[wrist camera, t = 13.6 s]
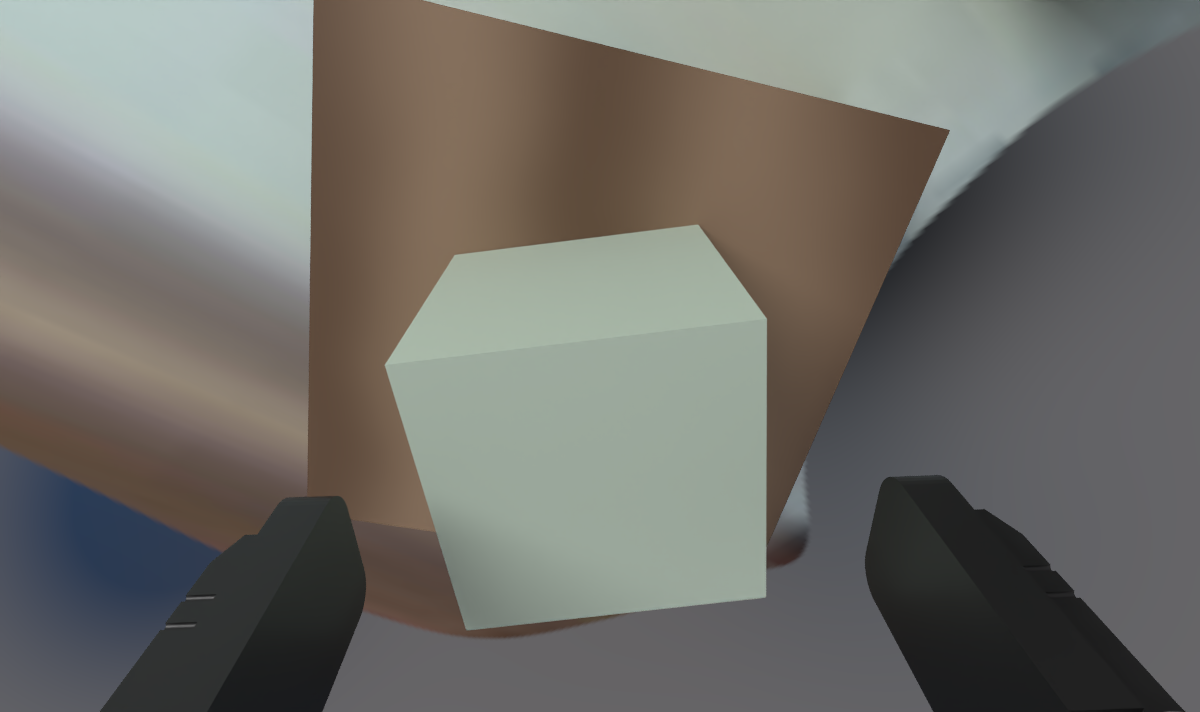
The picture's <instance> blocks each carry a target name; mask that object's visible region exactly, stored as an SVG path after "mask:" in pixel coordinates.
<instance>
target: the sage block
mask: <svg viewBox="0 0 1200 712" xmlns="http://www.w3.org/2000/svg"><path fill="white" fill-rule="evenodd" d="M385 368H386V371H387V374H388V377H389V381H390V384H391V387H392V390H393V394H394V397H395V400H396V403H397V407H398V410H399V413H400V416H401V420H402V423H403V426H404V429H405V433H406V436H407V439H408V442H409V446H410V449H411V452H412V455H413V459H414V462H415V465H416V468H417V472H418V475H419V478H420V481H421V485H422V488H423V491H424V494H425V498H426V501H427V504H428V507H429V511H430V514H431V517H432V520H433V524H434V527H435V530H436V533H437V536H438V540H439V543H440V546H441V549H442V553H443V556H444V559H445V562H446V566H447V569H448V572H449V575H450V579H451V582H452V585H453V588H454V592H455V595H456V598H457V601H458V605H459V608H460V611H461V614H462V618H463V621H464V624H465V627H466V630H475V629H484V628H493V627H502V626H511V625H520V624H530V623H539V622H548V621H557V620H566V619H575V618H584V617H593V616H602V615H611V614H620V613H629V612H638V611H647V610H655V609H665V608H674V607H684V606H693V605H702V604H711V603H719V602H729V601H738V600H747V599H756V598H764V597H766V458H767V318H766V317H765V315H764V314H763V313H762V311H761V310H760V309H759V307H758V306H757V305H756V303H755V302H754V300H753V299H752V298H751V296H750V295H749V294H748V292H747V291H746V289H745V288H744V287H743V285H742V284H741V283H740V281H739V280H738V278H737V277H736V276H735V274H734V273H733V272H732V270H731V269H730V267H729V266H728V265H727V263H726V262H725V261H724V259H723V258H722V256H721V255H720V254H719V252H718V251H717V250H716V248H715V247H714V245H713V244H712V243H711V241H710V240H709V239H708V237H707V236H706V235H705V233H704V232H703V230H702V229H701V228H700V226H699V225H690V226H682V227H674V228H666V229H658V230H650V231H642V232H634V233H626V234H618V235H610V236H602V237H594V238H586V239H578V240H570V241H562V242H554V243H546V244H538V245H530V246H522V247H514V248H506V249H498V250H490V251H482V252H474V253H466V254H458V255H454V257H453V258H452V260H451V262H450V263H449V265H448V266H447V268H446V269H445V271H444V273H443V274H442V276H441V277H440V279H439V280H438V282H437V284H436V285H435V287H434V288H433V290H432V291H431V293H430V295H429V296H428V298H427V299H426V301H425V302H424V304H423V306H422V307H421V309H420V310H419V312H418V313H417V315H416V317H415V318H414V320H413V321H412V323H411V324H410V326H409V328H408V329H407V331H406V332H405V334H404V336H403V337H402V339H401V340H400V342H399V343H398V345H397V347H396V348H395V350H394V351H393V353H392V354H391V356H390V358H389V359H388V361H387V362H386V364H385Z"/></svg>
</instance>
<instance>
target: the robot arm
mask: <svg viewBox="0 0 1200 712" xmlns="http://www.w3.org/2000/svg"><path fill="white" fill-rule="evenodd" d="M865 569H866V576H867V581H868V585H869V589H870V592H871V594H872V597H873V599H874V601H875V603H876V605H877V606H878V608H879V610H880V612H881V614H882V616H883V617H884V620H885V622H886V623H887V625H888V627H889V629H890V631H891V633H892V635H893V636H894V638H895V640H896V642H897V644H898V646H899V648H900V650H901V651H902V654H903V655H904V657H905V659H906V661H907V663H908V665H909V667H910V669H911V670H912V672H913V674H914V676H915V678H916V680H917V682H918V684H919V685H920V687H921V689H922V691H923V693H924V695H925V697H926V699H927V700H928V703H929V704H930V706H931V708H932V710H933V712H1185V711H1184V710H1183V709H1182V708H1181V707H1180V706H1179V705H1178V704H1177V703H1176V702H1175V701H1174V700H1173V699H1172V698H1171V696H1170V695H1169V694H1168V693H1167V692H1166V691H1165V690H1164V689H1163V688H1162V686H1161V685H1160V684H1159V683H1158V682H1157V681H1156V680H1155V679H1154V678H1153V677H1152V676H1151V674H1150V673H1149V672H1148V671H1147V670H1146V669H1145V668H1144V667H1143V666H1142V665H1141V664H1140V663H1139V661H1138V660H1137V659H1136V658H1135V657H1134V656H1133V655H1132V654H1131V653H1130V651H1128V650H1127V648H1126V647H1125V646H1124V645H1123V644H1122V643H1121V642H1120V641H1119V639H1118V638H1117V637H1116V636H1115V635H1114V634H1113V633H1112V632H1111V631H1110V630H1109V629H1108V627H1107V626H1106V625H1105V624H1104V623H1103V622H1102V621H1101V620H1100V619H1099V618H1098V616H1097V615H1096V614H1095V613H1094V612H1093V611H1092V610H1091V609H1090V608H1089V607H1088V606H1087V605H1086V603H1085V602H1084V601H1083V600H1082V599H1081V598H1076V597H1075V595H1074V590H1073V589H1072V588H1071V587H1070V586H1069V585H1068V584H1067V583H1066V581H1065V580H1064V579H1063V578H1062V577H1061V576H1060V575H1059V574H1058V573H1057V572H1056V571H1052V570H1051V568H1050V564H1049V563H1048V562H1047V561H1046V560H1045V558H1044V557H1043V556H1042V555H1041V554H1040V553H1039V552H1038V551H1037V550H1036V549H1035V548H1034V546H1033V545H1032V544H1031V543H1030V542H1029V541H1028V540H1027V539H1026V538H1025V537H1024V536H1023V535H1022V534H1021V533H1019V532H1018V531H1017V530H1015V529H1014V528H1012V527H1011V526H1009V525H1008V524H1006V523H1004V522H1003V521H1001V520H1000V519H999V518H997V517H995V516H994V515H992V514H991V513H989V512H988V511H986V510H985V509H983V510H974V509H973V508H972V506H971V505H970V504H969V503H968V502H967V501H966V499H965V498H964V497H963V496H962V495H961V494H960V492H959V491H958V490H957V489H956V488H955V487H954V485H953V484H952V483H951V482H950V481H949V480H948V479H947V478H945V477H943V476H940V475H934V476H933V475H932V476H905V477H888V478H886V479H885V480H884V481H883V483H882V485H881V487H880V491H879V495H878V500H877V504H876V509H875V513H874V518H873V523H872V527H871V532H870V536H869V541H868V546H867V551H866V556H865ZM365 592H366V578H365V571H364V567H363V563H362V560H361V556H360V552H359V548H358V545H357V541H356V537H355V534H354V530H353V526H352V523H351V519H350V515H349V512H348V508H347V505H346V503H345V501H344V499H343V498H342V497H340V496H317V497H290V498H285V499H283V500H282V501H281V502H280V503H279V504H278V505H277V507H276V508H275V510H274V511H273V513H272V514H271V516H270V517H269V518H268V520H267V521H266V523H265V524H264V526H263V527H262V529H261V530H260V532H259V533H258V534H257V535H244V536H243V537H242V538H241V539H239V540H238V541H237V542H236V543H234V544H233V545H232V546H231V547H229V548H228V549H227V550H226V551H224V552H223V553H222V554H221V555H219V556H218V557H217V558H216V559H215V560H213V561H212V562H211V563H210V564H209V565H208V567H207V568H206V569H205V571H204V572H203V573H202V575H201V576H200V578H199V579H198V580H197V581H196V583H195V584H194V585H193V587H192V588H191V590H190V591H189V592H188V593H187V595H186V597H187V598H186V601H185V602H181V603H180V605H179V606H178V607H177V609H176V610H175V611H174V612H173V614H172V615H171V617H170V618H169V619H168V620H167V622H166V628H165V630H160V631H159V633H158V634H157V635H156V637H155V638H154V639H153V641H152V642H151V643H150V645H149V646H148V647H147V649H146V650H145V651H144V653H143V654H142V656H141V657H140V658H139V660H138V661H137V662H136V664H135V665H134V666H133V668H132V669H131V670H130V672H129V673H128V674H127V676H126V677H125V678H124V680H123V681H122V682H121V684H120V685H119V687H118V688H117V689H116V691H115V692H114V693H113V695H112V696H111V697H110V699H109V700H108V701H107V703H106V704H105V705H104V707H103V708H102V709H101V711H100V712H322V711H323V709H324V706H325V704H326V701H327V699H328V696H329V694H330V691H331V688H332V686H333V684H334V681H335V679H336V676H337V674H338V671H339V669H340V666H341V663H342V661H343V659H344V656H345V654H346V651H347V649H348V646H349V644H350V641H351V639H352V636H353V634H354V631H355V629H356V627H357V624H358V622H359V619H360V616H361V613H362V610H363V606H364V601H365Z"/></svg>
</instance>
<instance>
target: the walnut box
mask: <svg viewBox="0 0 1200 712" xmlns="http://www.w3.org/2000/svg"><path fill="white" fill-rule="evenodd" d="M949 131H950V130H947V129H943V128H939V127H935V126H931V125H927V124H922V123H918V122H914V121H910V120H906V119H902V118H898V117H894V116H890V115H886V114H882V113H878V112H874V111H870V110H866V109H862V108H858V107H853V106H849V105H845V104H841V103H837V102H833V101H829V100H825V99H821V98H817V97H813V96H809V95H805V94H801V93H797V92H793V91H788V90H784V89H780V88H776V87H772V86H768V85H764V84H760V83H756V82H752V81H748V80H744V79H740V78H736V77H732V76H728V75H724V74H719V73H715V72H711V71H707V70H703V69H699V68H695V67H691V66H687V65H683V64H679V63H675V62H671V61H667V60H663V59H659V58H654V57H650V56H646V55H642V54H638V53H634V52H630V51H626V50H622V49H618V48H614V47H610V46H606V45H602V44H598V43H594V42H589V41H585V40H581V39H577V38H573V37H569V36H565V35H561V34H557V33H553V32H549V31H545V30H541V29H537V28H533V27H529V26H525V25H520V24H516V23H512V22H508V21H504V20H500V19H496V18H492V17H488V16H484V15H480V14H476V13H472V12H468V11H464V10H460V9H455V8H451V7H447V6H443V5H439V4H435V3H431V2H427V1H423V0H314V15H313V94H312V173H311V252H310V331H309V410H308V489H307V497H317V496H340V497H342V498H343V499H344V501H345V503H346V505H347V508H348V512H349V515H350V519H351V520H357V521H364V522H371V523H378V524H385V525H391V526H398V527H405V528H412V529H419V530H426V531H433V532H436V530H435V527H434V524H433V520H432V517H431V514H430V511H429V507H428V504H427V501H426V498H425V494H424V491H423V488H422V485H421V481H420V478H419V475H418V472H417V468H416V465H415V462H414V459H413V455H412V452H411V449H410V446H409V442H408V439H407V436H406V433H405V429H404V426H403V423H402V420H401V416H400V413H399V410H398V407H397V403H396V400H395V397H394V394H393V390H392V387H391V384H390V381H389V377H388V374H387V371H386V368H385V364H386V362H387V361H388V359H389V358H390V356H391V354H392V353H393V351H394V350H395V348H396V347H397V345H398V343H399V342H400V340H401V339H402V337H403V336H404V334H405V332H406V331H407V329H408V328H409V326H410V324H411V323H412V321H413V320H414V318H415V317H416V315H417V313H418V312H419V310H420V309H421V307H422V306H423V304H424V302H425V301H426V299H427V298H428V296H429V295H430V293H431V291H432V290H433V288H434V287H435V285H436V284H437V282H438V280H439V279H440V277H441V276H442V274H443V273H444V271H445V269H446V268H447V266H448V265H449V263H450V262H451V260H452V258H453V257H454V255H458V254H466V253H474V252H482V251H490V250H498V249H506V248H514V247H522V246H530V245H538V244H546V243H554V242H562V241H570V240H578V239H586V238H594V237H602V236H610V235H618V234H626V233H634V232H642V231H650V230H658V229H666V228H674V227H682V226H690V225H699V226H700V228H701V229H702V230H703V232H704V233H705V235H706V236H707V237H708V239H709V240H710V241H711V243H712V244H713V245H714V247H715V248H716V250H717V251H718V252H719V254H720V255H721V256H722V258H723V259H724V261H725V262H726V263H727V265H728V266H729V267H730V269H731V270H732V272H733V273H734V274H735V276H736V277H737V278H738V280H739V281H740V283H741V284H742V285H743V287H744V288H745V289H746V291H747V292H748V294H749V295H750V296H751V298H752V299H753V300H754V302H755V303H756V305H757V306H758V307H759V309H760V310H761V311H762V313H763V314H764V315H765V317H766V318H767V458H766V547H767V545H768V543H769V540H770V538H771V536H772V534H773V531H774V529H775V527H776V524H777V522H778V520H779V518H780V515H781V513H782V511H783V509H784V506H785V504H786V502H787V499H788V497H789V495H790V493H791V490H792V488H793V486H794V484H795V481H796V479H797V477H798V474H799V472H800V470H801V468H802V465H803V463H804V461H805V459H806V456H807V454H808V452H809V449H810V447H811V445H812V442H813V440H814V438H815V436H816V434H817V431H818V429H819V427H820V424H821V422H822V420H823V418H824V415H825V413H826V411H827V408H828V406H829V404H830V402H831V400H832V397H833V395H834V393H835V390H836V388H837V386H838V384H839V381H840V379H841V377H842V375H843V372H844V370H845V368H846V365H847V363H848V361H849V359H850V356H851V354H852V352H853V350H854V347H855V345H856V343H857V340H858V338H859V336H860V334H861V331H862V329H863V327H864V324H865V322H866V320H867V318H868V315H869V313H870V311H871V309H872V306H873V304H874V302H875V300H876V297H877V295H878V293H879V290H880V288H881V286H882V284H883V281H884V279H885V277H886V275H887V272H888V270H889V268H890V265H891V263H892V261H893V259H894V256H895V254H896V252H897V250H898V247H899V245H900V243H901V240H902V238H903V236H904V234H905V231H906V229H907V227H908V225H909V222H910V220H911V218H912V215H913V213H914V211H915V209H916V206H917V204H918V202H919V200H920V197H921V195H922V193H923V190H924V188H925V186H926V184H927V181H928V179H929V177H930V175H931V172H932V170H933V168H934V166H935V163H936V161H937V159H938V156H939V154H940V152H941V150H942V147H943V145H944V143H945V141H946V138H947V136H948V134H949Z"/></svg>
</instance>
